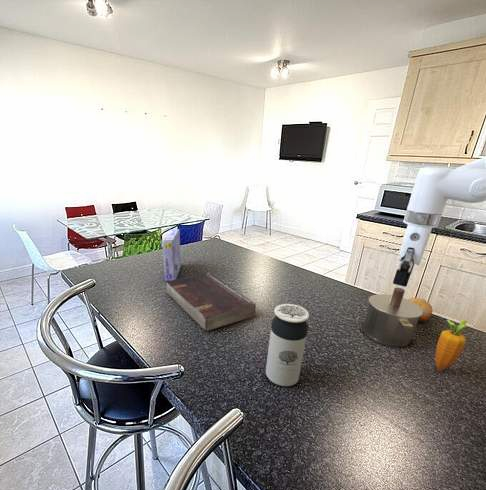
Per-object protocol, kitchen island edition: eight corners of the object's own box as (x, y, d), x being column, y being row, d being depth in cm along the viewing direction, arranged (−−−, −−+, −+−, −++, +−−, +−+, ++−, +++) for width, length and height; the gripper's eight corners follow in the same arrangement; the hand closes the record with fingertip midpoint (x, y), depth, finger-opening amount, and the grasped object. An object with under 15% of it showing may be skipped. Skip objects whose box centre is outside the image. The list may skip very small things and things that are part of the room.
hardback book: (254, 315, 97) (256, 302, 95) (206, 332, 87) (206, 317, 85) (209, 283, 119) (209, 271, 117) (166, 293, 110) (166, 281, 108)
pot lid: (407, 299, 90) (413, 281, 88) (431, 323, 78) (439, 303, 76) (361, 295, 92) (366, 278, 90) (378, 318, 80) (384, 298, 77)
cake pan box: (171, 264, 137) (170, 227, 130) (181, 264, 137) (181, 227, 130) (163, 281, 119) (161, 240, 112) (175, 282, 119) (174, 240, 112)
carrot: (432, 375, 73) (453, 324, 67) (424, 362, 77) (443, 313, 71) (455, 379, 72) (479, 327, 66) (445, 365, 76) (466, 316, 70)
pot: (394, 319, 96) (402, 294, 92) (423, 355, 80) (435, 325, 76) (354, 316, 98) (361, 291, 94) (375, 350, 81) (383, 321, 77)
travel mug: (269, 360, 76) (276, 300, 69) (300, 369, 74) (311, 307, 66) (262, 381, 69) (270, 316, 62) (296, 391, 67) (309, 324, 60)
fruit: (427, 310, 99) (435, 297, 93) (425, 330, 96) (433, 318, 90) (400, 304, 103) (406, 291, 97) (397, 322, 99) (403, 310, 93)
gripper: (438, 227, 66) (414, 294, 73) (440, 215, 79) (420, 273, 86) (400, 221, 70) (381, 285, 77) (408, 211, 83) (391, 267, 90)
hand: (401, 279), depth 81 cm, fingers open, 9 cm apart
